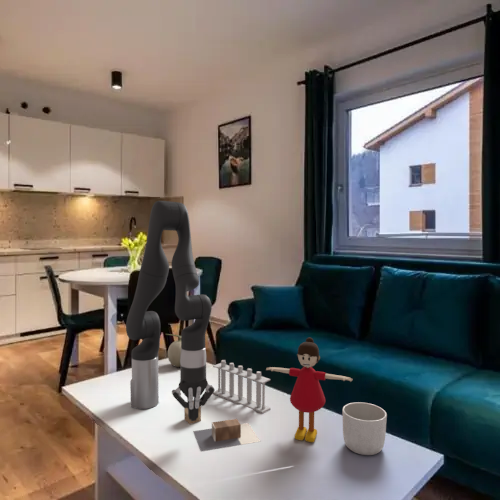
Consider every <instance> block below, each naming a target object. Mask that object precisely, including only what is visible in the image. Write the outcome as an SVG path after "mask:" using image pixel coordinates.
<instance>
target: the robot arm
mask: <svg viewBox="0 0 500 500" xmlns="http://www.w3.org/2000/svg"><path fill="white" fill-rule="evenodd" d="M163 231H172V232H173V231H174V232H176V234H177V238H178V239H177V240H178V241H177V246H176V248H175V250H174V252H173V256H172V259H171V270H172V272H171V273H172V275H173V279H174V284H175V285H174V286H175V300H174V313H175V315H176V317H177V318H178V319H179V320H180V321H182V322H183V321H184V322H185V321H193V320H194V322H193V323H192V324H191V325H188V326H185V327H184V328H183V329H181V333H180V336H181V355H180V367H179V368H180V372H179V373H180V374H179V375H180V376H179V377H180V381H179V383H178V387H177V388H176V389H172V391H171V394H172V397H174V398H175V401H177V402H178V403H179V404H180V405H181V406H182V408H188V417H189V419H191V421H196V418H198V408H199V407H200V406H201V407H202V406H206V404H207V402H208V401H209V399H210V397H212V395H214V394H213V392H214V391H216V390H215V388H214V387H213V385H210V384H209V381H208V380H207V351H206V350H207V349H206V334H207V329H208V325H209V321H210V318H211V315H212V309H213V307H212V301H211V299H210V297H209V296H207V294H201V293H200V294H191V295H188V292H190V291H193V290H195V289H197V288H198V286H199V284H200V280H199V276H198V271H197V268H196V264H195V260H194V255H193V248H192V247H193V246H192V245H193V244H192V236H191V235H192V234H191V223H190V215H189V212H188V208H187V206H186V204H184V203H183V202H177V201H169V200H168V201H167V200H156V201H155V202H154V203H153V205H152V207H151V210H150V214H149V222H148V229H147V235H146V243H145V248H144V253H143V257H142V262H141V264H140V269H139V274H138V280H137V285H136V288H135V292H134V296H133V300H132V304H131V306H130V309H129V312H128V315H127V318H126V323H125V331H126V335H127V337H128V339H130V340H133V341H139V340H142V341H141V342H140V343H139V344H138V345H136V346H134V348H133V349H132V350H131V379H130V384H129V385H130V408H135V409H141V410H146V409H151V408H152V409H153V408H154V407H156V406H157V405H158V404H159V403H160V402H159V401H160V399H159V351H160V345H161V344H160V343H161V319H160V316H159V314H158V313H157V312H156V311H153V310H148V309H149V306H150V305H151V304H152V303H153V301H154V300H155V299H156V298H157V297H158V296H159V295H160V293H161V292H162V291H163V289H164V288H165V286H166V284H167V280H168V279H167V278H168V276H169V273H170V272H169V270H170V264H169V261H168V257H167V256H166V253H165V251H164V248H163V246H162V235H163ZM181 392H182V393H183V394H184V397H186V399H187V400H185V399H184V398H183V397H182V393H181ZM193 400H194V401H193Z"/></svg>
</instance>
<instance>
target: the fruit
mask: <svg viewBox="0 0 500 500" xmlns="http://www.w3.org/2000/svg"><path fill="white" fill-rule="evenodd" d="M165 335H166V336H173V337H177V338H178V340H175V341H173V342H172V343H170V345H169V347H168V350H167V357H168V358H167V359H168V361H169V363H170V364H171V365H172V366H174V367H175V368H180V355H181V335H179V334H171V333H170V334H169V333H165Z"/></svg>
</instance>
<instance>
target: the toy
mask: <svg viewBox="0 0 500 500" xmlns="http://www.w3.org/2000/svg"><path fill="white" fill-rule="evenodd" d="M296 356H297V360H298V361H299V363H300V365H301V366H302V368H301V369H300V368H295V367H290V368H286V367H285V368H284V367H275V366H274V367H273V366H272V367H271V366H269V367H266V369H265V371H271V372H277V373H279V372H280V373H283V374H288V375H289V376H290V377H295V378H296V377H297V378H296V380H295V383H294V386H293V389H292V392H291V394H290V396H289V400H290V404H291V405H292V406H293V407H294V408H295V409H296V410H297V411H298V426H297V429H296V431H295V434H294V439H295V440H298V441H305V442H308V443H314V442H315V440H316V439H317V438H316V437H317V434H318V429H316V428H315V412H317V411H320V410H321V409H323V407H324V406H325V404H326V397H325V394H324V391H323V389H322V386H321V383H320V381H326V379H327V380H336V381H337V380H339V381H340V380H341V381H343V382H345V381H349V382H353V378H351V377H349V376H344V375H340V374H339V375H337V374H332V373H327V372H324V371H318V370H317V371H316V370H315V369H314V368H313V367H314V366H315V365H316V364H318V363H319V361H320V359H321V356H320V350H319V347H318V345H317V344H316V343H315V342H314V339H313V338H312V336H311V337H307V338H306V339H305V341H304V342H302V343H300V345H299V346H298V348H297V354H296ZM305 413H306V414H308V429H307V427H305V426H304V425H305V424H304V423H305Z"/></svg>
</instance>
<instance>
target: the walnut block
mask: <svg viewBox="0 0 500 500" xmlns="http://www.w3.org/2000/svg"><path fill="white" fill-rule="evenodd" d="M241 424H242V423H241V422H240V421H239V420H238V418H233V419H227V420H226V419H225V420H219V421H213V422H211V428H212V437H213V439H214V441H222V440H228V439H234V438H240V437H241Z"/></svg>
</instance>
